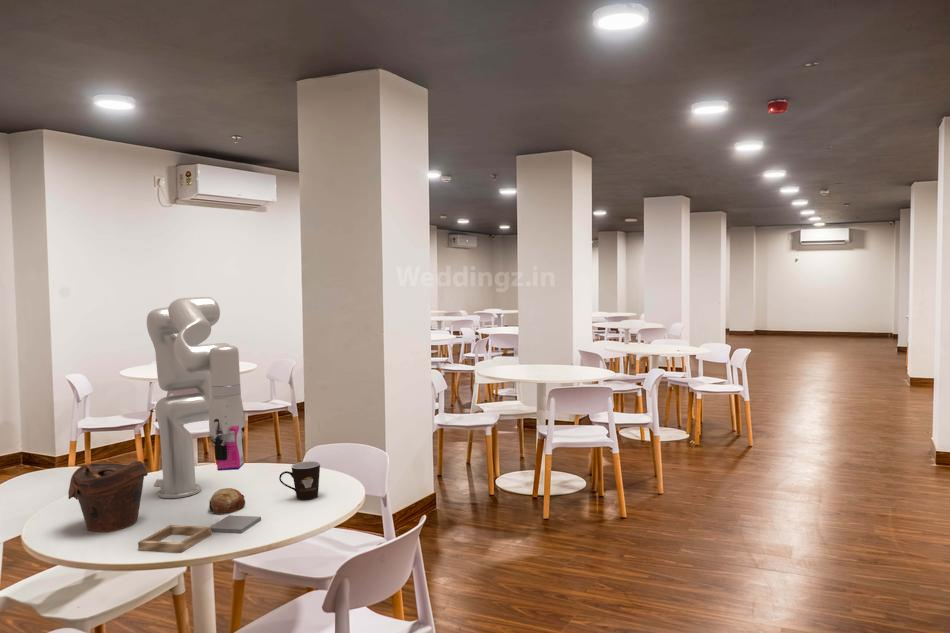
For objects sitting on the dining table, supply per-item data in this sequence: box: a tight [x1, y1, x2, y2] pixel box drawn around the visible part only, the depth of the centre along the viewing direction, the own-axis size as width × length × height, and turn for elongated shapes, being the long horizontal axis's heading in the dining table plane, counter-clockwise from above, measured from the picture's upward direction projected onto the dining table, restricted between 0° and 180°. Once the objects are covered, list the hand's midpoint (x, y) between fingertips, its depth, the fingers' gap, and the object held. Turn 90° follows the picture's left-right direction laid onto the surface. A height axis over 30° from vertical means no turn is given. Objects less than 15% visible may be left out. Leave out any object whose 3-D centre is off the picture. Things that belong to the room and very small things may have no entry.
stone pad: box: [209, 515, 262, 534], centre depth 190 cm, size 10×10×1 cm
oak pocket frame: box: [137, 524, 212, 553], centre depth 180 cm, size 12×12×2 cm
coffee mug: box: [278, 460, 321, 501], centre depth 214 cm, size 12×9×10 cm
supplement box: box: [216, 425, 245, 471], centre depth 189 cm, size 6×6×12 cm
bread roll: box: [208, 487, 246, 515], centre depth 206 cm, size 10×10×8 cm
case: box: [68, 460, 149, 532], centre depth 195 cm, size 18×20×18 cm
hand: (229, 455), depth 189 cm, fingers closed on supplement box, 7 cm apart
